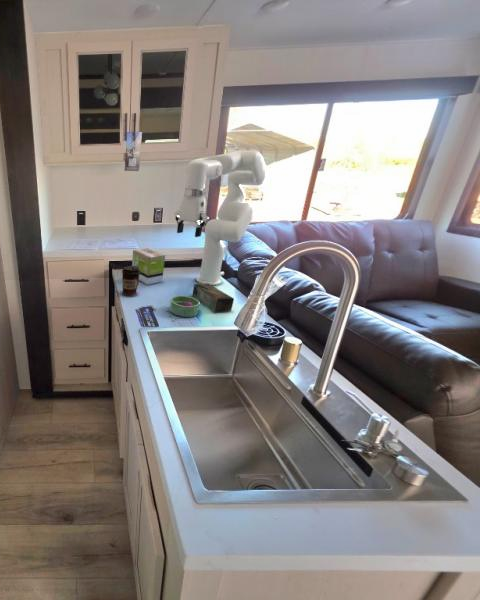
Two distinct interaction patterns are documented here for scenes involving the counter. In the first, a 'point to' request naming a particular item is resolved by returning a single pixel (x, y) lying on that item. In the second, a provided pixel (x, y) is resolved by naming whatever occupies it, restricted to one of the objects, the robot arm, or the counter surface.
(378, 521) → the counter surface
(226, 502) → the counter surface
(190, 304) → the ball
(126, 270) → the coffee cup
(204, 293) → the brown wooden block
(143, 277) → the tea box
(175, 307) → the bowl
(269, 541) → the counter surface
